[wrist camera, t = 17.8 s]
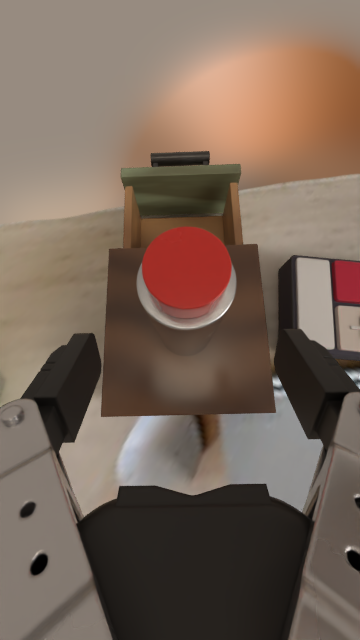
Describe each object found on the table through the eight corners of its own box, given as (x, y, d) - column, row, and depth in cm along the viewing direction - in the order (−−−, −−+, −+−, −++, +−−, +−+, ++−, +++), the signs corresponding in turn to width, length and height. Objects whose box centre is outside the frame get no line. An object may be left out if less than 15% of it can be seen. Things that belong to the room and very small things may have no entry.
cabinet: (127, 281, 32) (109, 248, 24) (239, 278, 32) (257, 243, 24) (124, 407, 28) (100, 416, 21) (250, 404, 28) (276, 412, 20)
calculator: (444, 363, 25) (296, 349, 25) (406, 366, 30) (279, 354, 29) (428, 263, 28) (294, 250, 28) (394, 278, 32) (278, 267, 32)
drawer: (133, 182, 35) (122, 137, 29) (227, 179, 35) (237, 132, 28) (130, 310, 30) (115, 291, 24) (238, 307, 30) (253, 287, 24)
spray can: (210, 304, 23) (239, 213, 11) (213, 355, 22) (249, 320, 9) (159, 305, 23) (130, 216, 11) (159, 357, 22) (127, 323, 10)
